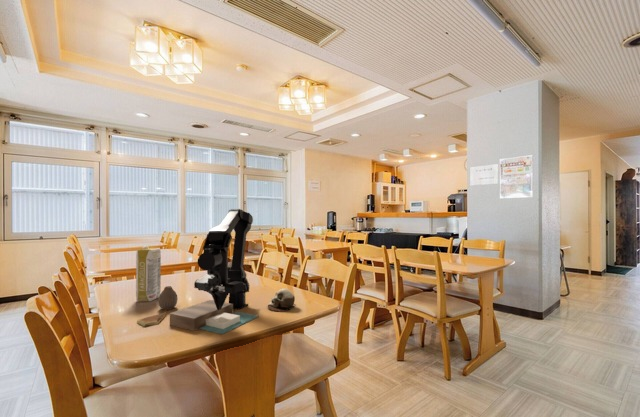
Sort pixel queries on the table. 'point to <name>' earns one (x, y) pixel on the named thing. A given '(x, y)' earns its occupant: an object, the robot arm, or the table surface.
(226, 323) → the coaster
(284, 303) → the skull
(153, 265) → the juice carton
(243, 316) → the mat
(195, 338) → the table surface
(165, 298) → the vase
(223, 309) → the brick
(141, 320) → the shard
